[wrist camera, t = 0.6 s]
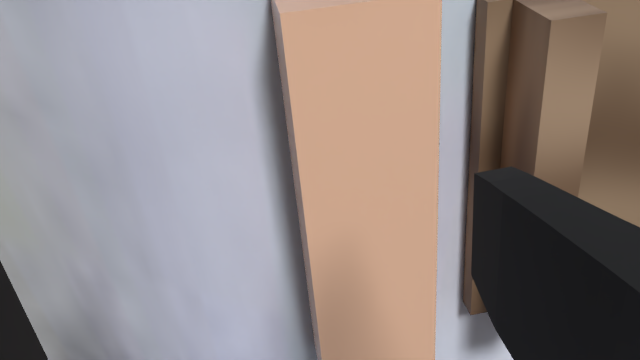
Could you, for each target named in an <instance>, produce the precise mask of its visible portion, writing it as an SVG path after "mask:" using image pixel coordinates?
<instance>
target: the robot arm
mask: <svg viewBox="0 0 640 360" xmlns="http://www.w3.org/2000/svg"><path fill="white" fill-rule="evenodd" d="M471 276H472V278H473V280H474V283H475V285H476V287H477V290H478V292H479V294H480V297H481V299H482V301H483V304H484V306H485V308H486V310H487V312H488V314H489V317H490V319H491V321H492V323H493V325H494V327H495V329H496V331H497V333H498V334H499V336H500V338H501V339H502V341H503V343H504V344H505V346H506V348H507V349H508V351H509V353H510V354H511V356H512V358H513V359H514V360H640V227H638V226H636V225H634V224H632V223H629V222H627V221H625V220H623V219H621V218H619V217H617V216H615V215H613V214H611V213H608V212H606V211H604V210H602V209H600V208H598V207H596V206H594V205H592V204H590V203H588V202H586V201H584V200H582V199H580V198H578V197H576V196H574V195H572V194H570V193H568V192H566V191H564V190H562V189H560V188H558V187H556V186H554V185H552V184H550V183H547V182H545V181H543V180H541V179H539V178H537V177H535V176H533V175H531V174H528V173H526V172H524V171H522V170H519V169H517V168H514V167H512V166H511V167H506V168H500V169H495V170H489V171H484V172H479V173H474V196H473V228H472V261H471ZM0 360H48V358H47V356H46V354H45V352H44V350H43V348H42V346H41V344H40V342H39V340H38V338H37V336H36V333H35V331H34V329H33V327H32V325H31V323H30V321H29V319H28V317H27V315H26V313H25V311H24V309H23V307H22V305H21V303H20V301H19V298H18V296H17V294H16V292H15V290H14V288H13V286H12V284H11V282H10V280H9V278H8V276H7V274H6V272H5V270H4V268H3V266H2V263H1V261H0Z"/></svg>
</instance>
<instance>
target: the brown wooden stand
mask: <svg viewBox="0 0 640 360" xmlns="http://www.w3.org/2000/svg"><path fill="white" fill-rule="evenodd" d="M511 166H512V167H514V168H517V169H519V170H522V171H524V172H526V173H528V174H531V175H533V176H535V177H537V178H539V179H541V180H543V181H545V182H547V183H550V184H552V185H554V186H556V187H558V188H560V189H562V190H564V191H566V192H568V193H570V194H572V195H574V196H576V197H578V198H580V199H582V200H584V201H586V202H588V203H590V204H592V205H594V206H596V207H598V208H600V209H602V210H604V211H606V212H608V213H611V214H613V215H615V216H617V217H619V218H621V219H623V220H625V221H627V222H629V223H632V224H634V225H636V226H638V227H640V0H477V4H476V26H475V48H474V70H473V92H472V113H471V135H470V157H469V179H468V201H467V223H466V245H465V267H464V289H463V302H464V304H465V306H466V308H467V309H468V311H469V313H470V315H474V314H479V313H484V312H487V310H486V308H485V306H484V304H483V301H482V299H481V297H480V294H479V292H478V290H477V287H476V285H475V283H474V280H473V278H472V276H471V261H472V228H473V196H474V173H479V172H484V171H489V170H495V169H500V168H506V167H511Z"/></svg>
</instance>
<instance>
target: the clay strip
mask: <svg viewBox="0 0 640 360" xmlns="http://www.w3.org/2000/svg"><path fill="white" fill-rule="evenodd" d="M271 7H272V15H273V23H274V31H275V39H276V46H277V54H278V62H279V70H280V78H281V85H282V93H283V101H284V109H285V117H286V124H287V132H288V140H289V148H290V156H291V163H292V171H293V179H294V187H295V195H296V202H297V210H298V218H299V226H300V234H301V241H302V249H303V257H304V265H305V273H306V281H307V288H308V296H309V304H310V312H311V320H312V327H313V335H314V343H315V349H316V354H317V358H318V360H435V327H436V276H437V224H438V173H439V121H440V69H441V18H442V0H271Z"/></svg>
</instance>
